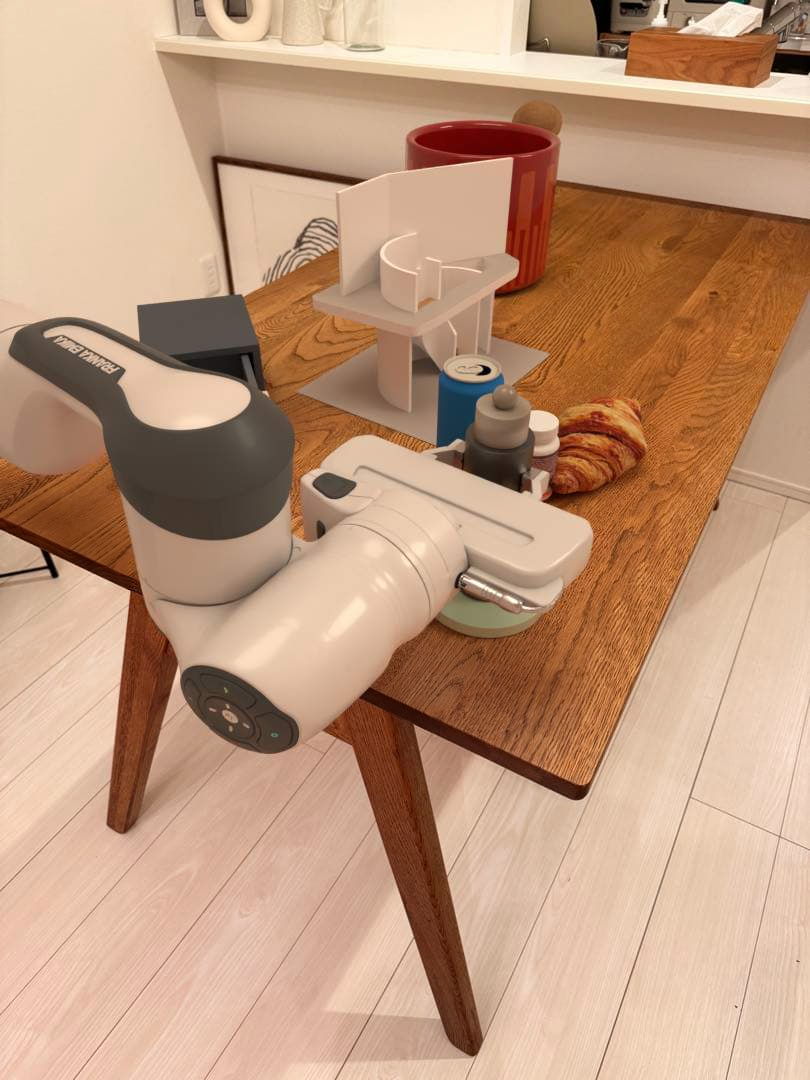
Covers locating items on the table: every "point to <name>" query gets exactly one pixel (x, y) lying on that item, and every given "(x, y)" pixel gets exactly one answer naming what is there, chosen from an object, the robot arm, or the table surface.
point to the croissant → (597, 443)
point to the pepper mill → (500, 441)
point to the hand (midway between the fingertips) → (502, 462)
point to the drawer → (228, 366)
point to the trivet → (483, 618)
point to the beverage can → (463, 393)
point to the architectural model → (420, 289)
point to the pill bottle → (545, 444)
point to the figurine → (539, 116)
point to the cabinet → (201, 330)
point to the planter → (529, 180)
